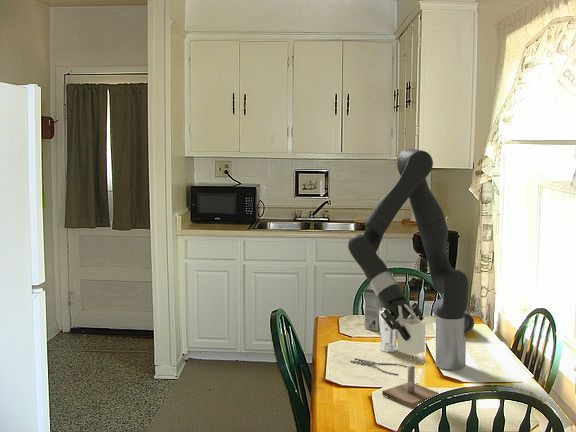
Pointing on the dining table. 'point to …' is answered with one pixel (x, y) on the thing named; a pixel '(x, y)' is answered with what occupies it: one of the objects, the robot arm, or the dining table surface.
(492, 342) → the dining table surface
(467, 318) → the bluetooth speaker
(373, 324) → the coffee box
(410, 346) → the sleeve
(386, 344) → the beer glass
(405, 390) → the post stand
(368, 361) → the pliers
